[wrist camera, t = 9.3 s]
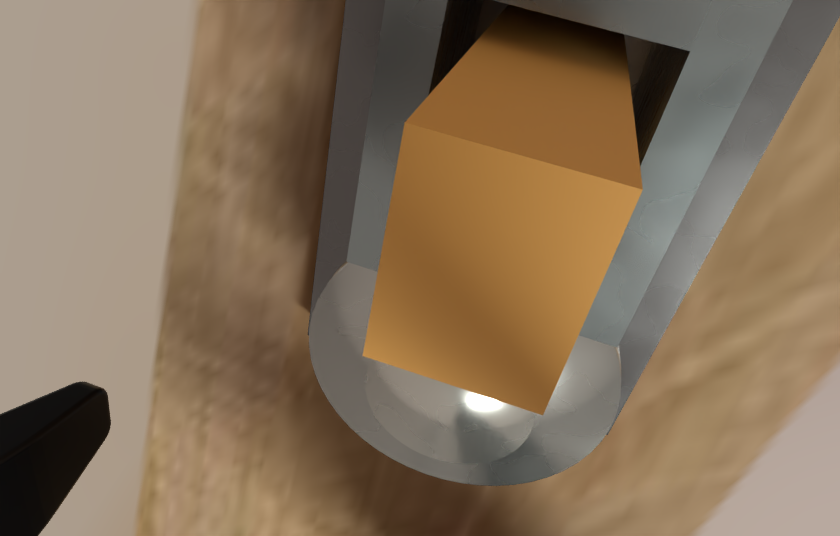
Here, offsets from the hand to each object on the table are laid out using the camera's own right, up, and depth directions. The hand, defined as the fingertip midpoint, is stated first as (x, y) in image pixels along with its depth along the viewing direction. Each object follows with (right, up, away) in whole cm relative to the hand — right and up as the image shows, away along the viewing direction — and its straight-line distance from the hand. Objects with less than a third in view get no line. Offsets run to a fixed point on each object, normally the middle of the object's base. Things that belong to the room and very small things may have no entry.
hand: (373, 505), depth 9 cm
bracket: (+4, +7, +10) cm, 13 cm away
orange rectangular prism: (+4, +8, +8) cm, 12 cm away
